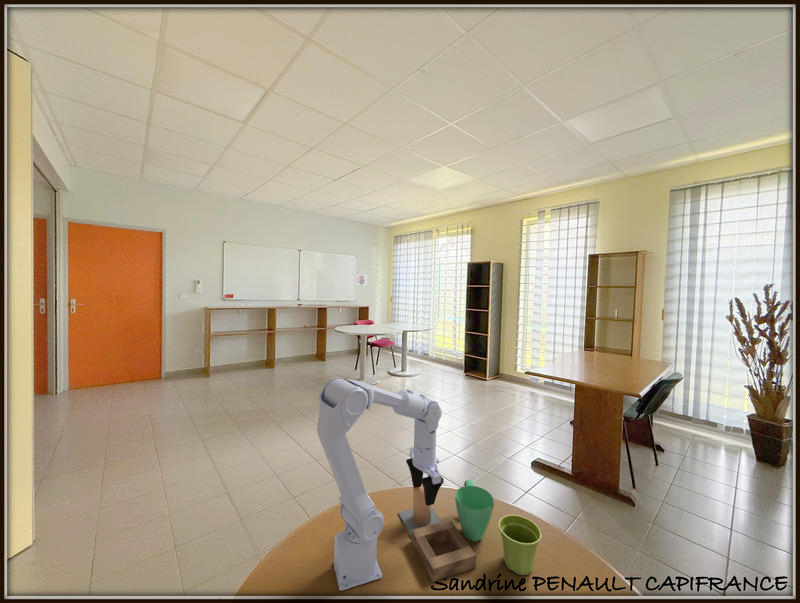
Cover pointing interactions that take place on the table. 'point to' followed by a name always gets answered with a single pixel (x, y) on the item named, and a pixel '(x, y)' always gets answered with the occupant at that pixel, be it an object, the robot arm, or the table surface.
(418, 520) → the peach rounded cylinder
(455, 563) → the holder
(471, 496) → the mug
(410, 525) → the mat
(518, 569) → the plant pot
